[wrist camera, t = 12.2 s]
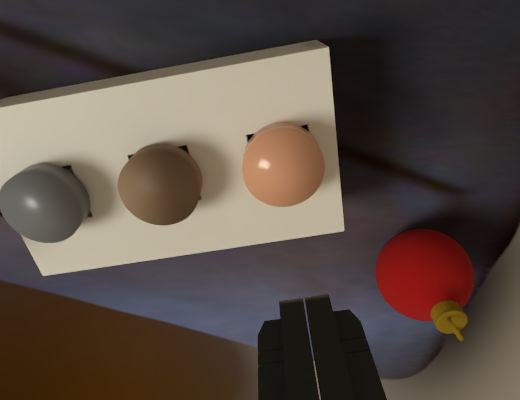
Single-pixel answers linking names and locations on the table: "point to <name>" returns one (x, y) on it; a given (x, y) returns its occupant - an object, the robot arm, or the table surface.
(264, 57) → the knob console
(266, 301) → the table surface
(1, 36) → the table surface
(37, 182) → the charcoal knob
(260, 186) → the terracotta knob
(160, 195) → the walnut knob
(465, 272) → the christmas ornament
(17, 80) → the table surface
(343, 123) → the table surface
